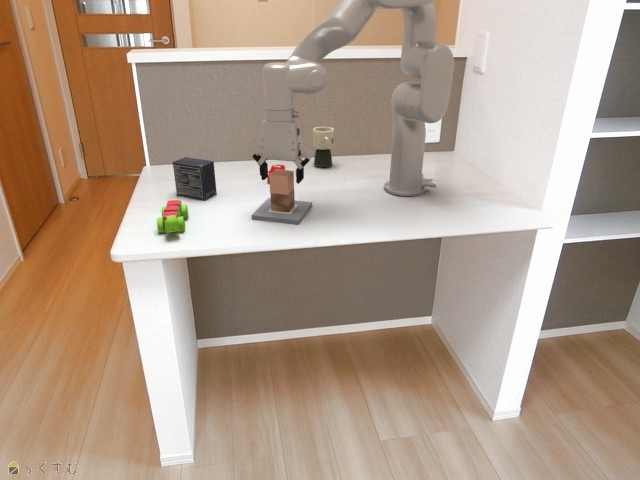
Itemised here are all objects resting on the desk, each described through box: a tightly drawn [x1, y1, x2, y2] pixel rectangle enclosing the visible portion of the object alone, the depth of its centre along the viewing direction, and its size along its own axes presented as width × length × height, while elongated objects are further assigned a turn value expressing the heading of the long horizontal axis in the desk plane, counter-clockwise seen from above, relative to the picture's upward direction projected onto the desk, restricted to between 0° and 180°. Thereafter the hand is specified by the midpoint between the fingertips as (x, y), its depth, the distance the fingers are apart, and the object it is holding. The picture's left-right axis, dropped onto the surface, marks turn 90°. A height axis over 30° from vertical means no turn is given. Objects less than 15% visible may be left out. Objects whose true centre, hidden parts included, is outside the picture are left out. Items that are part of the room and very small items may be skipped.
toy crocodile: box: [156, 199, 189, 234], centre depth 128 cm, size 20×7×6 cm, turn 9°
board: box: [251, 197, 313, 225], centre depth 136 cm, size 13×13×1 cm
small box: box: [172, 156, 218, 202], centre depth 146 cm, size 11×6×10 cm, turn 65°
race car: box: [266, 164, 287, 184], centre depth 161 cm, size 13×5×4 cm, turn 177°
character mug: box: [312, 126, 335, 168], centre depth 170 cm, size 11×7×13 cm, turn 14°
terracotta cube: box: [269, 169, 295, 195], centre depth 132 cm, size 5×5×5 cm
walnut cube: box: [269, 188, 296, 213], centre depth 134 cm, size 5×5×5 cm
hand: (281, 180), depth 132 cm, fingers open, 9 cm apart
